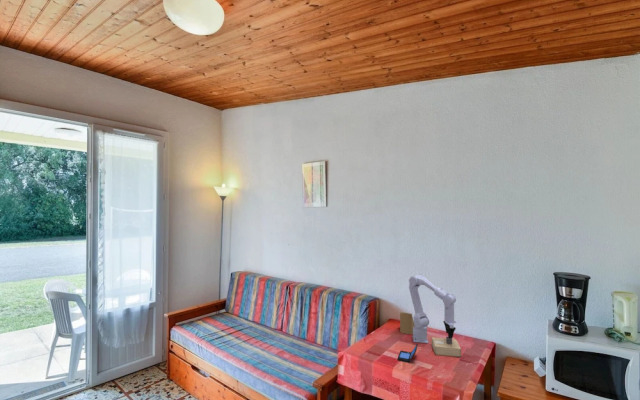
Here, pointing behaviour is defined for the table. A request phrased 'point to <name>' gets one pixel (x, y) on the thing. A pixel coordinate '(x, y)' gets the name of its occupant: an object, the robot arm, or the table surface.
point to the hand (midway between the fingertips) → (449, 335)
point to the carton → (446, 351)
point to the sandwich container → (406, 323)
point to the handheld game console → (406, 355)
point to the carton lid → (446, 343)
